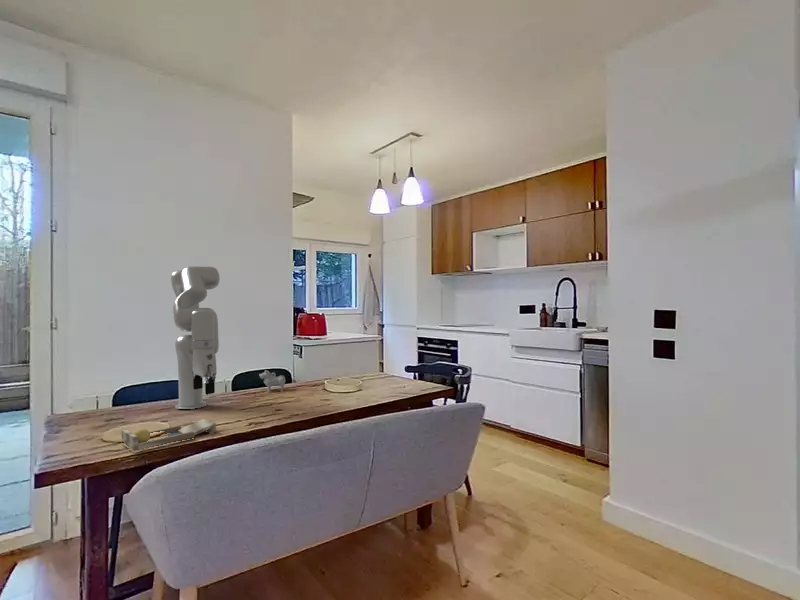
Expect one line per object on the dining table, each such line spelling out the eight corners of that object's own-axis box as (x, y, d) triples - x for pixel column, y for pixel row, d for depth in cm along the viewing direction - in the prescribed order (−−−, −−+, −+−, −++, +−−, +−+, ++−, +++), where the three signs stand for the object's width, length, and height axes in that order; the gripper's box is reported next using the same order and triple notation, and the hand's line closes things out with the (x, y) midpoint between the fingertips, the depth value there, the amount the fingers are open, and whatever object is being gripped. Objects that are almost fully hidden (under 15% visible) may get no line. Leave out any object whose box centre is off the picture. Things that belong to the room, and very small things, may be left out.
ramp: (205, 427, 172) (204, 418, 172) (216, 432, 166) (216, 423, 166) (177, 433, 165) (177, 424, 165) (187, 439, 159) (187, 429, 159)
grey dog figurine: (260, 390, 237) (259, 369, 237) (285, 389, 239) (285, 368, 239) (258, 392, 232) (258, 371, 232) (285, 391, 234) (284, 370, 234)
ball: (137, 424, 153) (126, 437, 151) (143, 428, 150) (132, 442, 148) (149, 430, 156) (139, 444, 154) (156, 434, 153) (145, 448, 151)
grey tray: (121, 445, 154) (121, 430, 154) (179, 432, 167) (179, 418, 167) (134, 453, 145) (133, 437, 145) (194, 439, 159) (193, 424, 159)
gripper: (224, 345, 164) (225, 393, 165) (203, 340, 176) (203, 385, 177) (203, 348, 159) (204, 397, 160) (182, 342, 171) (183, 388, 172)
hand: (203, 391), depth 168 cm, fingers open, 9 cm apart
